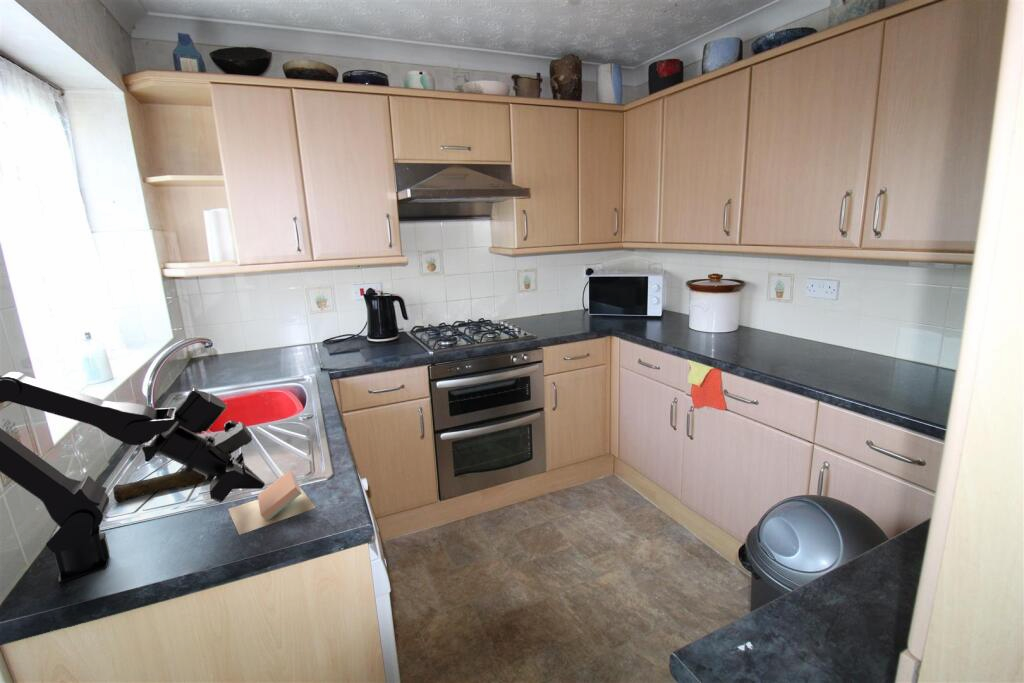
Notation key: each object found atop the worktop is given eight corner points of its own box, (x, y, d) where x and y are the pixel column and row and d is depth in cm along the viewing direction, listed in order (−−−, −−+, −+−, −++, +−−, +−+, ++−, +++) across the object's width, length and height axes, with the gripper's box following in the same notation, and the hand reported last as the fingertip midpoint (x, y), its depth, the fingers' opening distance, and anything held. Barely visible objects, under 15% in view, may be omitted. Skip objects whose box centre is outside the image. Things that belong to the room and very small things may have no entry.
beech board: (240, 540, 96) (239, 534, 96) (228, 514, 105) (228, 509, 105) (316, 512, 105) (315, 507, 104) (300, 490, 114) (299, 486, 114)
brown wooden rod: (114, 506, 110) (109, 487, 109) (118, 498, 114) (114, 479, 113) (212, 484, 119) (209, 466, 118) (213, 477, 122) (210, 460, 121)
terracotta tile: (260, 515, 99) (295, 487, 102) (257, 495, 107) (289, 469, 109) (267, 521, 100) (301, 493, 102) (263, 501, 108) (295, 475, 110)
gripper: (220, 431, 88) (295, 471, 96) (219, 402, 104) (284, 438, 112) (176, 484, 86) (256, 520, 94) (182, 446, 102) (250, 479, 110)
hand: (263, 485), depth 103 cm, fingers closed
